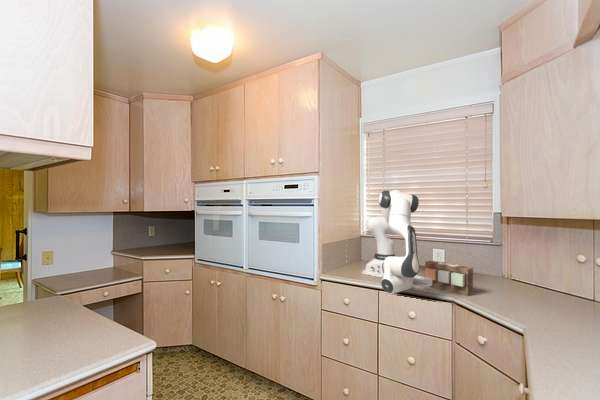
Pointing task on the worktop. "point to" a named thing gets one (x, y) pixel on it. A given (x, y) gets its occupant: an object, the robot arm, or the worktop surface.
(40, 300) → the worktop surface
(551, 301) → the worktop surface
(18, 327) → the worktop surface
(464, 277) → the key right
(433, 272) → the key left
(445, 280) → the key middle
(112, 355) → the worktop surface
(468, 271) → the keypad console
